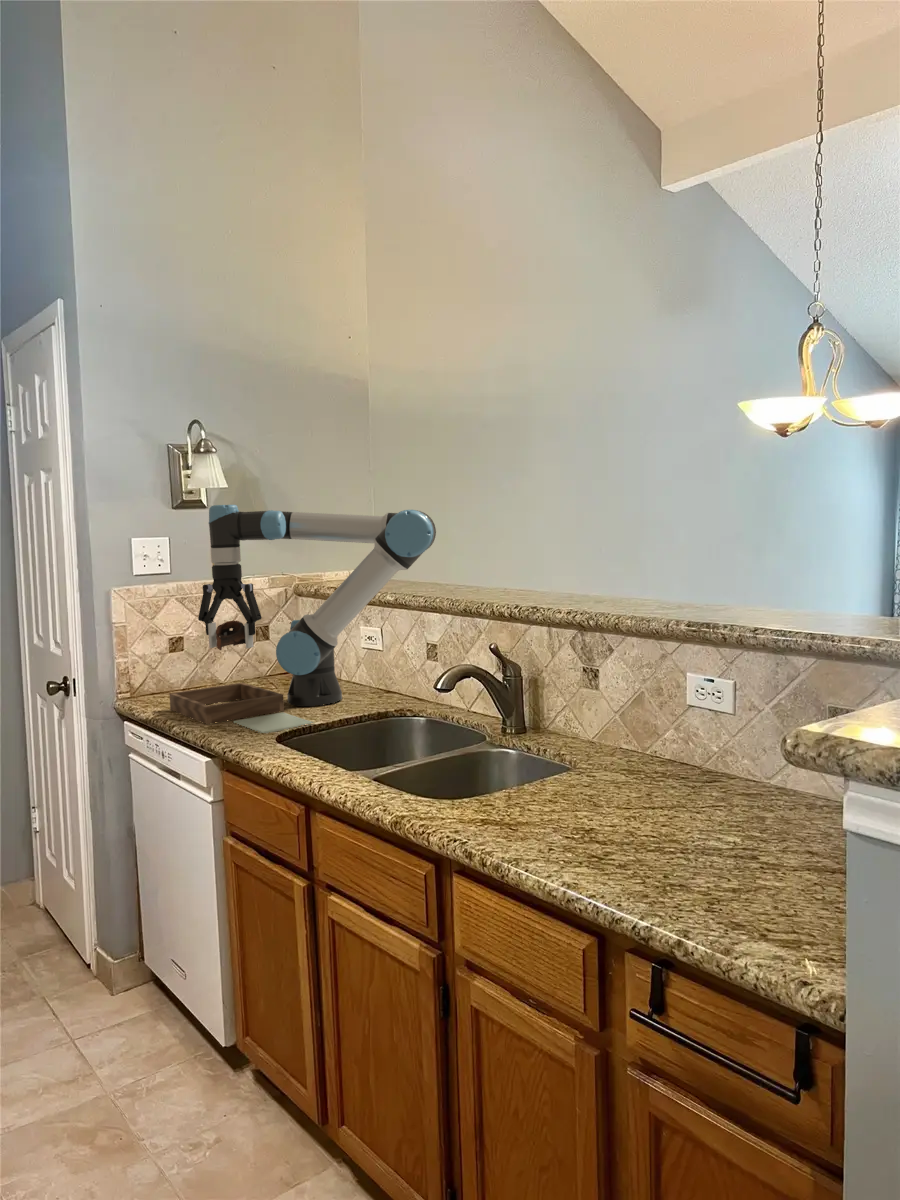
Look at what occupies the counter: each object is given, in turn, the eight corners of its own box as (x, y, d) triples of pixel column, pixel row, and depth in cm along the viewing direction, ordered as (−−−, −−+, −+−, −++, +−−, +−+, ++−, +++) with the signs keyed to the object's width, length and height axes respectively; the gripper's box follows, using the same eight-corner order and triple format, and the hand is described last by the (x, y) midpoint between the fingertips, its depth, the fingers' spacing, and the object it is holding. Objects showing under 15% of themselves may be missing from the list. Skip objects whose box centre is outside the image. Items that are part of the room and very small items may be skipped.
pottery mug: (261, 647, 241) (253, 623, 236) (234, 667, 235) (226, 643, 231) (233, 634, 248) (224, 610, 243) (206, 653, 242) (197, 629, 237)
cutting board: (313, 724, 224) (313, 722, 224) (262, 734, 215) (262, 732, 215) (283, 714, 236) (283, 712, 236) (233, 722, 228) (233, 721, 228)
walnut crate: (283, 711, 240) (283, 694, 239) (207, 724, 226) (206, 707, 226) (243, 698, 259) (242, 682, 258) (170, 709, 245) (169, 693, 245)
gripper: (272, 562, 236) (276, 645, 238) (196, 563, 243) (201, 644, 245) (258, 563, 229) (263, 650, 231) (180, 565, 236) (186, 649, 238)
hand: (231, 647), depth 238 cm, fingers closed on pottery mug, 10 cm apart
